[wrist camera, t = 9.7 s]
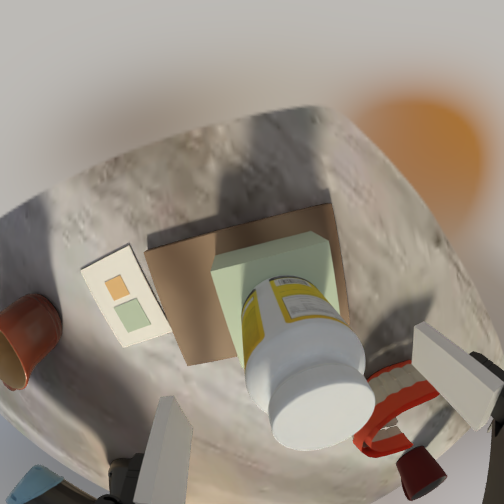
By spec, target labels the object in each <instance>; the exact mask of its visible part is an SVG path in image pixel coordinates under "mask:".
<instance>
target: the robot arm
mask: <svg viewBox="0 0 504 504" xmlns="http://www.w3.org/2000/svg"><path fill="white" fill-rule="evenodd" d="M412 365H413V366H414V367H415V368H416V369H417V370H418V371H419V372H420V373H421V374H422V375H423V376H424V377H425V378H426V379H427V380H428V381H429V383H430V384H431V385H432V386H433V387H434V388H435V389H436V390H437V391H438V392H439V393H440V394H441V395H442V396H443V397H444V398H445V399H446V400H447V401H448V402H449V404H450V405H451V406H452V407H453V408H454V409H455V410H456V411H457V412H458V413H459V414H460V415H461V416H462V418H463V419H464V420H465V421H466V422H467V423H468V424H469V425H470V426H471V427H472V428H473V429H474V431H475V432H476V431H478V430H479V429H480V428H481V427H482V426H484V425H485V424H486V423H487V421H488V419H489V417H490V415H491V416H492V417H493V420H492V422H491V424H490V426H489V428H488V431H487V432H489V431H490V430H491V428H492V439H491V452H490V462H489V470H488V476H487V483H486V488H485V493H484V498H483V502H482V504H504V371H503V370H502V369H501V368H499V367H498V366H497V365H495V364H493V362H492V361H490V360H488V358H486V357H485V356H484V355H482V354H480V353H477V352H474V351H473V352H471V353H470V354H468V353H467V352H465V351H464V350H463V349H461V348H460V347H459V346H457V345H456V344H455V343H453V342H452V341H451V340H449V339H448V338H447V337H445V336H444V335H443V334H441V333H440V332H439V331H437V330H436V329H435V328H433V327H432V326H430V325H429V324H428V323H426V322H425V321H423V322H421V323H419V324H417V325H415V326H414V337H413V352H412ZM192 433H193V428H192V426H191V424H190V423H189V421H188V419H187V418H186V416H185V414H184V413H183V411H182V409H181V408H180V406H179V404H178V402H177V401H176V399H175V397H174V396H166V397H160V401H159V404H158V408H157V411H156V414H155V418H154V421H153V425H152V429H151V432H150V436H149V439H148V443H147V447H146V451H145V454H139V453H136V454H135V455H134V457H133V458H132V459H117V460H114V461H113V462H112V463H111V465H110V468H109V471H108V476H109V489H110V494H106V495H103V496H101V497H99V498H98V499H96V498H94V497H93V496H91V495H89V494H87V493H86V492H84V491H82V490H80V489H79V488H77V487H76V486H74V485H73V484H71V483H69V482H68V481H66V480H65V479H64V477H62V476H58V475H57V474H56V473H54V472H52V471H51V470H49V469H48V468H47V467H44V466H42V465H35V466H33V467H32V468H31V469H30V470H29V471H28V472H27V473H26V475H25V476H24V477H23V478H22V479H21V481H20V482H19V483H18V484H17V485H16V487H15V488H14V489H13V490H12V492H11V493H10V495H9V496H8V497H7V499H6V503H7V504H185V500H186V489H187V479H188V469H189V459H190V450H191V441H192Z"/></svg>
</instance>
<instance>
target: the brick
mask: <svg viewBox="0 0 504 504" xmlns="http://www.w3.org/2000/svg"><path fill="white" fill-rule="evenodd" d="M210 272H211V275H212V279H213V282H214V285H215V288H216V292H217V295H218V298H219V301H220V304H221V307H222V310H223V314H224V317H225V320H226V323H227V326H228V329H229V332H230V335H231V338H232V341H233V344H234V346H235V349H236V352H237V355H238V358H239V361H240V364H241V367H242V368H244V356H243V341H242V325H241V312H242V307H243V304H244V302H245V299H246V298H247V296H248V295H249V293H250V292H251V291H252V290H253V289H254V288H255V287H256V286H257V285H258V284H260V283H261V282H263V281H264V280H266V279H269V278H271V277H275V276H279V275H293V276H298V277H301V278H304V279H306V280H308V281H309V282H311V283H312V284H313V285H314V286H316V287H317V289H318V290H319V291H320V292H321V293H322V294H323V296H324V297H325V298H326V299H327V300H328V302H329V303H330V304H331V305H332V306H333V307H334V309H335V310H336V311H337V312H338V313H339V315H340V310H339V302H338V295H337V288H336V281H335V275H334V268H333V262H332V256H331V251H330V245H329V241H328V240H326V239H325V238H323V237H321V236H319V235H317V234H316V233H314V232H312V231H309V232H305V233H301V234H297V235H293V236H289V237H285V238H281V239H277V240H273V241H269V242H265V243H262V244H258V245H254V246H250V247H246V248H242V249H238V250H234V251H231V252H227V253H223V254H219V255H215V258H214V261H213V264H212V268H211V271H210Z"/></svg>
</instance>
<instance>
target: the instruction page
mask: <svg viewBox="0 0 504 504" xmlns="http://www.w3.org/2000/svg"><path fill="white" fill-rule="evenodd" d="M81 273H82V276H83V278H84V280H85V282H86V284H87V286H88V288H89V290H90V292H91V294H92V295H93V297H94V299H95V301H96V303H97V305H98V307H99V308H100V310H101V312H102V314H103V316H104V317H105V319H106V321H107V323H108V324H109V326H110V328H111V329H112V331H113V333H114V334H115V336H116V338H117V339H118V341H119V342H120V344H121V345H122V347H123V348H125V347H128V346H131V345H134V344H137V343H140V342H143V341H146V340H149V339H152V338H155V337H158V336H161V335H164V334H167V333H170V332H173V331H172V329H171V326H170V324H169V322H168V320H167V318H166V316H165V315H164V313H163V311H162V309H161V307H160V305H159V304H158V302H157V300H156V298H155V296H154V294H153V292H152V290H151V288H150V286H149V284H148V282H147V280H146V278H145V276H144V274H143V272H142V270H141V268H140V266H139V264H138V262H137V260H136V258H135V256H134V254H133V251H132V249H131V247H130V245H129V246H127V247H125V248H123V249H121V250H119V251H117V252H115V253H113V254H111V255H109V256H107V257H105V258H103V259H102V260H100V261H98V262H96V263H94V264H92V265H90V266H88V267H86V268H84V269H83V270H81Z"/></svg>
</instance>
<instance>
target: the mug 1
mask: <svg viewBox="0 0 504 504" xmlns="http://www.w3.org/2000/svg"><path fill="white" fill-rule="evenodd" d="M61 335H62V324H61V320H60V317H59V315H58V313H57V311H56V309H55V307H54V306H53V305H52V303H51V302H50V301H49V300H48V299H46V298H45V297H44V296H42V295H40V294H27V295H25V296H23V297H21V298H19V299H18V300H17V301H15V302H14V303H12V304H11V305H9V306H8V307H7V308H5V309H4V310H3V311H1V312H0V379H1V380H2V381H3V384H4V385H5V386H6V387H7V388H8V389H9V390H11V391H15V390H16V389H17V390H22V389H24V388H26V386H27V384H28V381H29V378H30V376H31V373H32V371H33V369H34V367H35V366H36V365H37V364H38V363H39V362H40V361H41V360H42V359H43V358H44V357H45V356H46V355H47V354H48V353H49V352H50V351H51V350H53V349H54V348H55V346H56V344H57V343H58V341H59V339H60V338H61Z"/></svg>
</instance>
